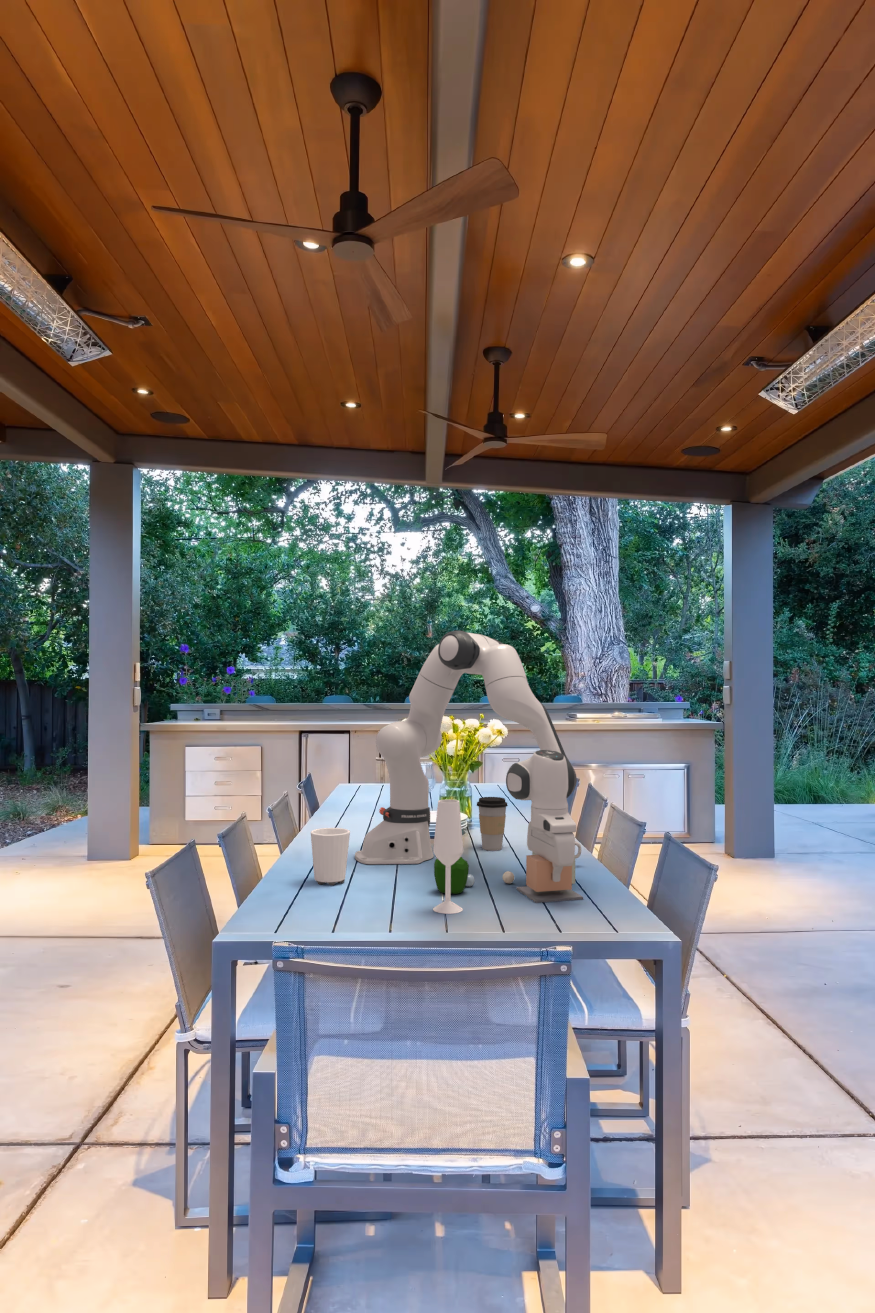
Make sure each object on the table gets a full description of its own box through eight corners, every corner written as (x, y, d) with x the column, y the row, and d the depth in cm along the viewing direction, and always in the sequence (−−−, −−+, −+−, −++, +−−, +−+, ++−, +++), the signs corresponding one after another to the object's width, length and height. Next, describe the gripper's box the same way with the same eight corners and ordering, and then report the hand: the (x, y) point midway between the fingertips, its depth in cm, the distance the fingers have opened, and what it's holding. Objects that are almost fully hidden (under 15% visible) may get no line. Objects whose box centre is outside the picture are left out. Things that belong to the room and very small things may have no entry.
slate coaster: (535, 902, 187) (535, 900, 187) (516, 889, 198) (516, 887, 198) (583, 899, 190) (583, 896, 190) (561, 886, 202) (561, 884, 202)
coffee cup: (508, 852, 241) (508, 801, 241) (476, 851, 241) (477, 801, 241) (506, 845, 250) (506, 796, 250) (475, 845, 250) (475, 796, 250)
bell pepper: (472, 889, 199) (472, 847, 199) (464, 897, 191) (464, 854, 191) (439, 886, 201) (439, 845, 201) (429, 894, 193) (430, 852, 193)
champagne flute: (433, 904, 185) (434, 798, 185) (462, 905, 184) (463, 799, 185) (432, 913, 178) (433, 803, 178) (462, 914, 178) (463, 803, 178)
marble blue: (462, 885, 199) (467, 874, 199) (458, 882, 202) (463, 871, 202) (473, 889, 200) (477, 878, 200) (469, 886, 203) (474, 875, 203)
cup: (301, 882, 204) (302, 831, 204) (332, 875, 211) (332, 826, 211) (327, 889, 197) (327, 836, 197) (357, 882, 204) (358, 831, 205)
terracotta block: (536, 892, 190) (536, 861, 190) (526, 885, 196) (526, 855, 196) (571, 889, 192) (572, 859, 193) (560, 882, 199) (560, 853, 199)
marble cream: (512, 883, 202) (501, 878, 202) (511, 887, 204) (500, 882, 205) (516, 872, 203) (505, 867, 204) (515, 876, 206) (504, 871, 206)
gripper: (521, 812, 204) (520, 867, 203) (554, 827, 184) (554, 888, 184) (544, 811, 206) (544, 866, 205) (579, 826, 186) (579, 887, 186)
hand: (549, 877), depth 194 cm, fingers closed on terracotta block, 6 cm apart
